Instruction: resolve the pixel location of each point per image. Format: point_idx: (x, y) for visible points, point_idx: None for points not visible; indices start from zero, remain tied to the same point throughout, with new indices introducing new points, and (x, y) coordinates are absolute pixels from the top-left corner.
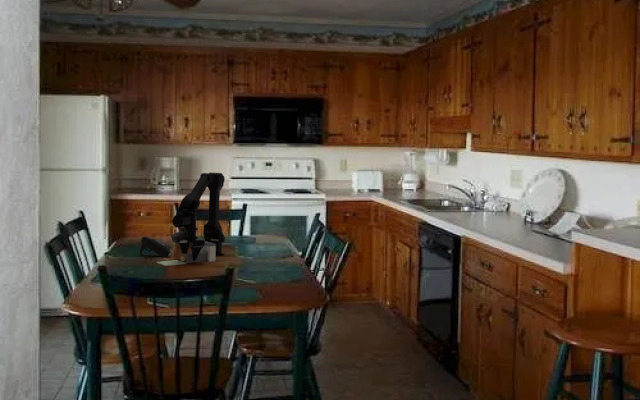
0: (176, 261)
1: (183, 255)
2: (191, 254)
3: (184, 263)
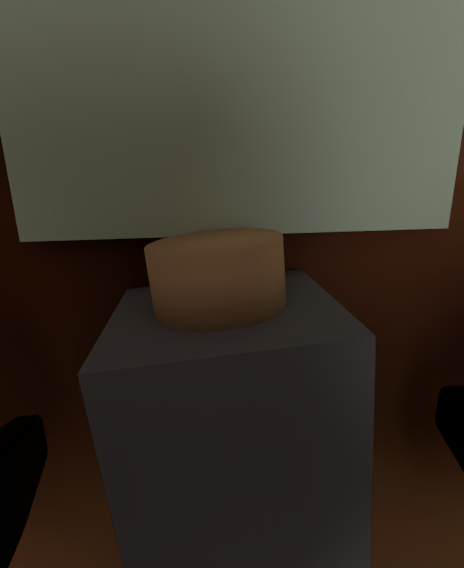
0: (304, 142)
1: (263, 331)
2: (116, 527)
3: (15, 202)
